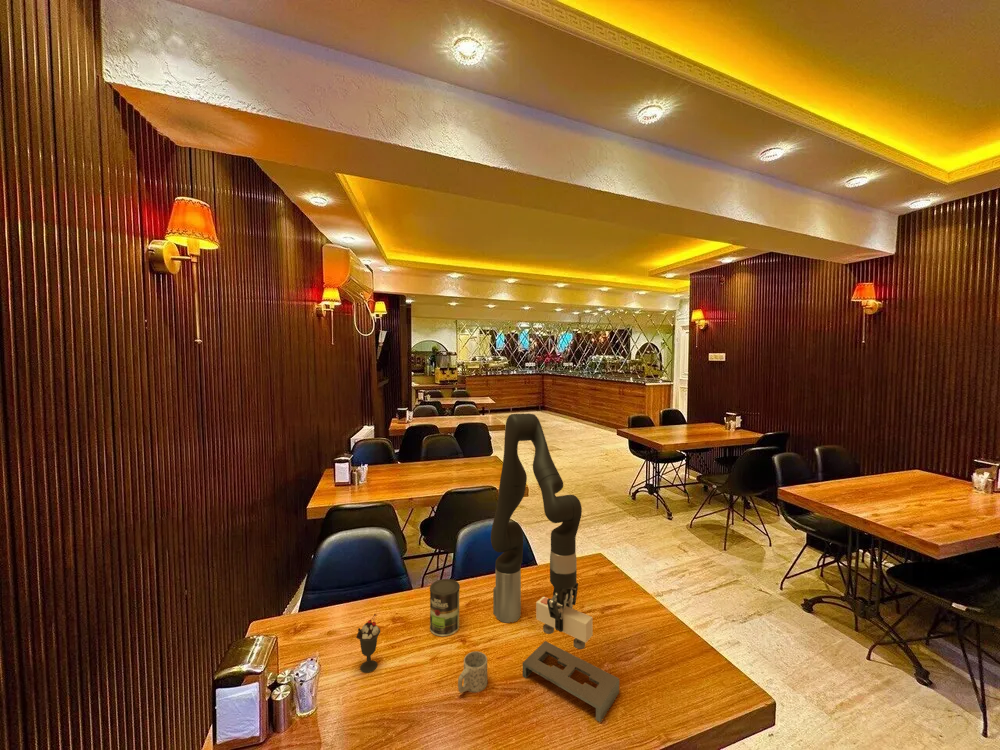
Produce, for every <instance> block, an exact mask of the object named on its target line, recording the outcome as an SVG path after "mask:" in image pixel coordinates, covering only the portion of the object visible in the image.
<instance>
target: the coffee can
mask: <svg viewBox="0 0 1000 750" xmlns="http://www.w3.org/2000/svg"><path fill="white" fill-rule="evenodd" d="M429 586H430V587H429V591H430V596H429V598H430V599H429V601H430V602H429V606H430V607H429V631H430V632H431V634H433V635H434V636H436V637H442V638H443V637H450V636H451V635H454V634H455V633H457V632H458V631H459V629H460V589H461V585H460V582H458V581H457V580H455V579H451V578H442V579H441V578H440V579H439V580H436V581H434V582H432V584H430V585H429Z"/></svg>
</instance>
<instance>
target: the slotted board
mask: <svg viewBox="0 0 1000 750" xmlns="http://www.w3.org/2000/svg"><path fill="white" fill-rule="evenodd" d="M549 656H550V657H551V658H553V659H554V660H556V662H557V664H558V665H561V666H562V667H564V668H563V669H561V668H560V667H558V666H555V665H552V666H550V665H548V664H546V663H544V660H546V658H548V657H549ZM575 671H577V672H580V674H583V675H584V676H587V677H588V681H590V682H592V683H593V684H595V685H597V686H596V687H594V686H592V685H590V684H588V683H586V682H584V683H583V684H582V683H580V682H578V681H576V679H573V678H571V677H572V675H573V674H574V672H575ZM532 673H535V674H537V675H538V676H540V677H541V678H544V679H545V680H546V681H549V682H550V683H551V684H554V685H555V686H557V687H559V688H560V689H562V690H564V691H566V692H567V693H569V694H571V695H572V696H574V697H577V698H578V699H579V700H581V701H583V702H585V703H586V704H588V705H590V706H592V707H593V708H595V721H596V720H597V721H599V722H601V723H602V721H603V720H604V718H605V717H606V715H607V713H608V712H609V710H610V709H611V707H612V705H613V704H614V703H615V701H616V699H617V698H616V697H618V696H619V694H620V678H619V677H617V676H615V675H613V674H611V673H609V672H607V671H606V670H603V669H602V668H599V667H597V666H596V665H594V664H592V663H589V662H588V661H586V660H584V659H582V658H580V657H578V656H576V655H574V654H573V653H570V652H568V651H566V650H564V649H562V648H561V647H558V646H556V645H554V644H552V643H550V642H548V641H546V640H544V641H543V642H542V643H541V644H540V645H539V647H537V648H536V649H535V650H534V651H533V652H532V653H531V654H530V655H529V656H528V657H527V658H526V659H525V660H524V661H523V662H522V677H523V678H524V679H527V678H528V677H529V676H530V675H531V674H532ZM617 695H618V696H617ZM614 700H615V701H614ZM609 708H610V709H609ZM607 711H608V712H607ZM604 716H605V717H604ZM602 719H603V720H602ZM597 721H596V722H597ZM599 722H598V723H599Z"/></svg>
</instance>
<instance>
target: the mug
mask: <svg viewBox="0 0 1000 750" xmlns="http://www.w3.org/2000/svg"><path fill="white" fill-rule="evenodd" d="M487 686H488V656H487V655H486V654H485V653H483V652H482V651H475V650H474V651H471V652H468V653H467V654H466V655H465V656H464V658H463V670H462V672H461V673H460V675H458V680H457V689H458V692H459V693H460V694H462V693H464V692H465V693H466V692H467V691H468V692H470V693H473V694H474V693H476V694H477V693H479V692H482V691H484V690H485V689H486V687H487Z"/></svg>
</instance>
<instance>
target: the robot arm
mask: <svg viewBox="0 0 1000 750" xmlns="http://www.w3.org/2000/svg"><path fill="white" fill-rule="evenodd" d="M546 439H547V438H546V436H545V433H544V430H543V426H542V424H541V422H540V420H539V418H538V417H537V415H535V414H533V413H511V414H509V415H508V416H507V419H506V421H505V427H504V442H503V443H504V448H503V460H502V466H501V467H502V468H501V473H500V480H499V486H498V495H497V496H498V497H497V502H496V503H497V504H496V509H495V514H494V516H493V517H494V519H493V522H492V526H491V530H490V542H491V546H492V547H491V548H492V549H493V550H494V551H495V552H496V553H501V554H500V555H499V556H498V557H497V558H496V559H495V564H494V565H495V586H494V587H493V589H492V591H493V592H492V593H493V597H492V598H493V600H492V601H493V602H492V603H493V606H492V607H493V608H492V609H493V612H492V613H493V615H494V616H495V617H496V620H498V621H499V620H500V622H502V623H507V624H509V623H510V622H512V623H515V622H518V619H519V618H521V617H520V616H522V615H521V614H522V591H521V588H522V583H521V582H522V580H521V579H522V577H521V575H522V573H521V572H522V571H521V569H522V562H523V560H524V559H523V555H524V533H523V529H522V526H521V525H520V523H519V522H517V521H510V520H511V517H512V515H513V514H514V512H515V510H517V508H518V507H519V505H521V502H522V500H523V498H524V496H525V493H526V488H527V480H528V475H527V472H526V469H525V468H524V465H523V464H522V461H521V460H520V458H519V457H520V456H519V454H518V446H519V442H528V441H530V442H531V443H532V444H533V446H534V457H533V461H532V470H533V474H534V477H535V479H536V481H537V484H538V487H539V488H540V491H541V496H542V501H543V510H544V514H545V517H546V518H547V519H548V521H550V522H551V523H553V524H559V523H561V524H560V525H558V526H557V527H555V528H553V529H552V530H551V532H550V555H549V582H550V585H551V586H553V592H552V597H551V598H549V599H548V600H547V604H548V609H549V613H550V617H552V618H554V619H555V628H554V630H556V631H558V632H560V633H563V632H562V631H563V613H564V610H565V609H566V606H568V607H570V608H572V609H574V607H573V606H575V605H576V602H577V595H578V589H579V583H578V582H577V581H578V580H577V578H578V577H577V575H578V574H577V572H578V571H577V564H578V563H577V562H578V561H577V552H576V549H577V547H576V546H577V544H576V537H577V534H578V530H579V526H580V522H581V519H582V513H583V508H582V503H581V501H580V499H579V498H578V496H576V495H574V494H565V495H556V494H558V493H559V492H561V491H562V489H563V488H564V481H563V479H562V477H561V475H560V473H559V471H558V469H557V467H556V465H555V463H554V460H553V459H552V456H551V453H550V450H549V446H548V443H547V440H546ZM557 603H558V604H561V605H562V606H561V605H558V604H557ZM558 609H559V610H560V613H559V610H558ZM519 620H520V619H519ZM514 621H515V622H514Z"/></svg>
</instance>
